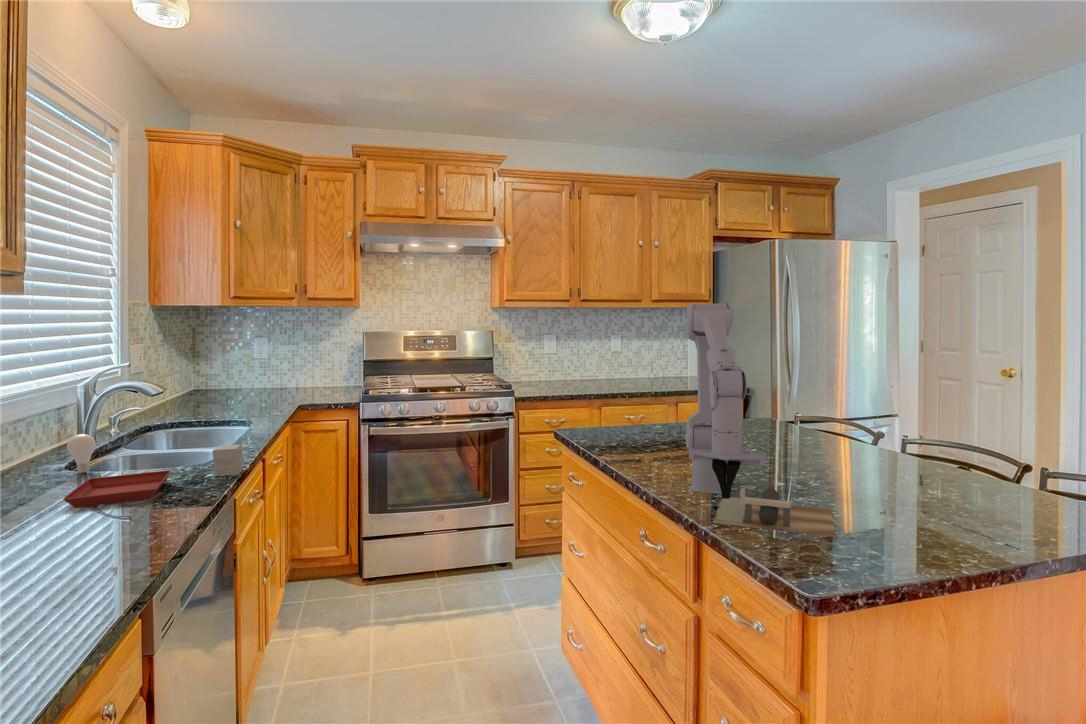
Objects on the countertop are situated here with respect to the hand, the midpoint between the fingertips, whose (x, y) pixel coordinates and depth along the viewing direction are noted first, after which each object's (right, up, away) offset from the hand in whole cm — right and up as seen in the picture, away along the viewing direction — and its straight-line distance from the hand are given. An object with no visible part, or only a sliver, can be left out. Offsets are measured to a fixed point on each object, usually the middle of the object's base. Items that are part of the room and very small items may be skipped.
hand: (726, 497), depth 120 cm
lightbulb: (-163, -4, +45) cm, 170 cm away
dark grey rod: (+10, -4, +3) cm, 11 cm away
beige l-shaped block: (+7, -1, -3) cm, 7 cm away
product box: (-123, -4, +43) cm, 130 cm away
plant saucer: (-139, -6, +25) cm, 141 cm away
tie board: (+10, -5, +2) cm, 12 cm away
